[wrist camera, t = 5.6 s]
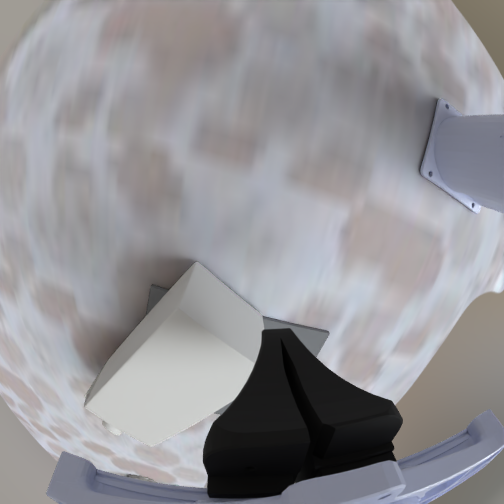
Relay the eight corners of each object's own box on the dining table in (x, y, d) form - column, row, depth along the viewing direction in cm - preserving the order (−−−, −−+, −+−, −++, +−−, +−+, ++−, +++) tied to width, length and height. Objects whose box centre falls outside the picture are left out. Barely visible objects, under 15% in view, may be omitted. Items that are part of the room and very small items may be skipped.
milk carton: (264, 314, 22) (146, 409, 26) (197, 258, 20) (95, 374, 24) (274, 373, 15) (133, 456, 19) (179, 305, 14) (71, 420, 17)
